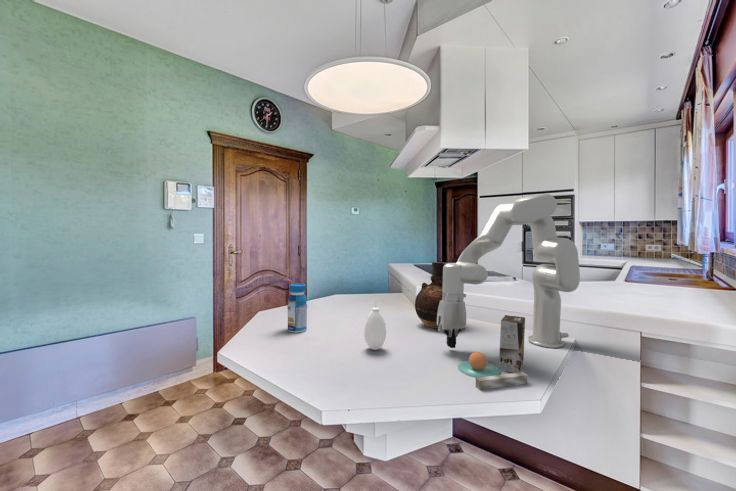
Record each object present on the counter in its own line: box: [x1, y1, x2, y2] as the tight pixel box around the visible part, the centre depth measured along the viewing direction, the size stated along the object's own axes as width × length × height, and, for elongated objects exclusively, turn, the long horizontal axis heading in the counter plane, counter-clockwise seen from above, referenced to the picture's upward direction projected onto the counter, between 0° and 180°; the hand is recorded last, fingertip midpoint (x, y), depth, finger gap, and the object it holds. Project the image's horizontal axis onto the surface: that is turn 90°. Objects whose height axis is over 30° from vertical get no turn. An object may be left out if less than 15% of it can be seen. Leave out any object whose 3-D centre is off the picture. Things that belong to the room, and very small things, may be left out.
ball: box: [468, 351, 488, 370], centre depth 106 cm, size 6×6×6 cm
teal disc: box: [457, 360, 502, 378], centre depth 106 cm, size 13×13×1 cm
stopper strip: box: [475, 371, 528, 391], centre depth 95 cm, size 16×2×2 cm, turn 106°
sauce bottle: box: [363, 301, 387, 351], centre depth 122 cm, size 8×8×18 cm
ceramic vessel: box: [414, 261, 448, 329], centre depth 153 cm, size 21×18×30 cm
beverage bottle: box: [287, 283, 308, 334], centre depth 143 cm, size 8×8×20 cm
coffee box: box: [498, 314, 526, 374], centre depth 108 cm, size 9×6×16 cm
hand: (451, 346), depth 122 cm, fingers closed
